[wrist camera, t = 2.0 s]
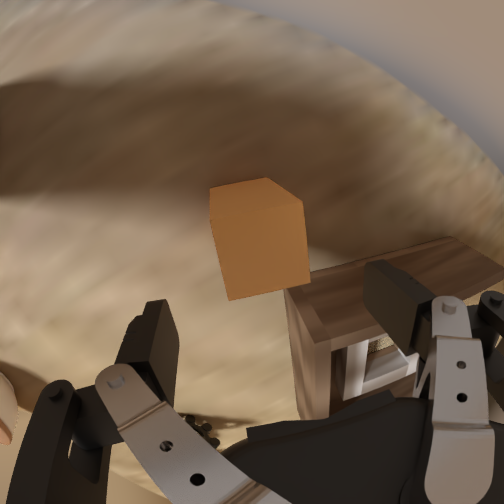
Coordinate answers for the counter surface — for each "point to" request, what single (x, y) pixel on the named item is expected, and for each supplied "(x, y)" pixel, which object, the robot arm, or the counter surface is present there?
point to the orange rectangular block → (259, 237)
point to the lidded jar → (7, 410)
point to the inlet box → (367, 325)
